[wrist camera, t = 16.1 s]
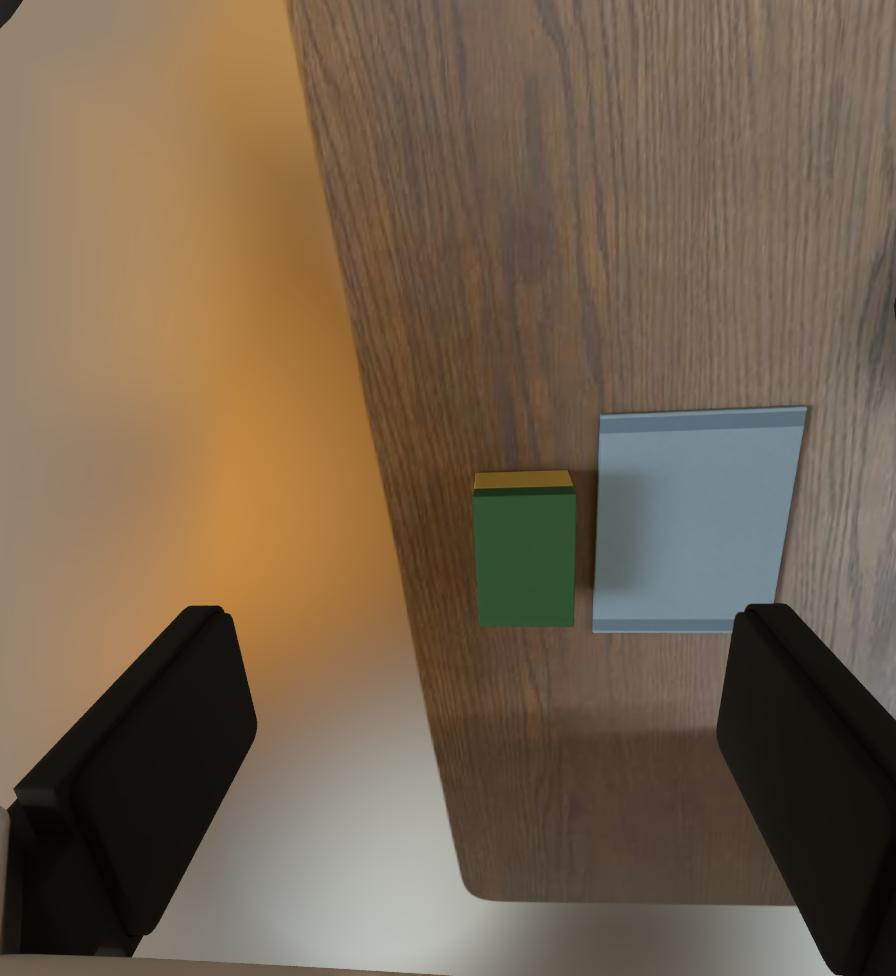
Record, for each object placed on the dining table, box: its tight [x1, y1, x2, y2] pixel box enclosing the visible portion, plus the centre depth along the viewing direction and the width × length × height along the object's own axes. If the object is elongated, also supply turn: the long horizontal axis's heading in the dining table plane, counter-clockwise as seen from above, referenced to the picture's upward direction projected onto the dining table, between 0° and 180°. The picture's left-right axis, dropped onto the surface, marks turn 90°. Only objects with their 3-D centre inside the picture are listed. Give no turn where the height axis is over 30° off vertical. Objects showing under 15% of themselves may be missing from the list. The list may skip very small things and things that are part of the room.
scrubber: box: [473, 470, 577, 627], centre depth 34 cm, size 9×6×4 cm, turn 4°
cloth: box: [592, 406, 807, 633], centre depth 35 cm, size 12×16×1 cm
